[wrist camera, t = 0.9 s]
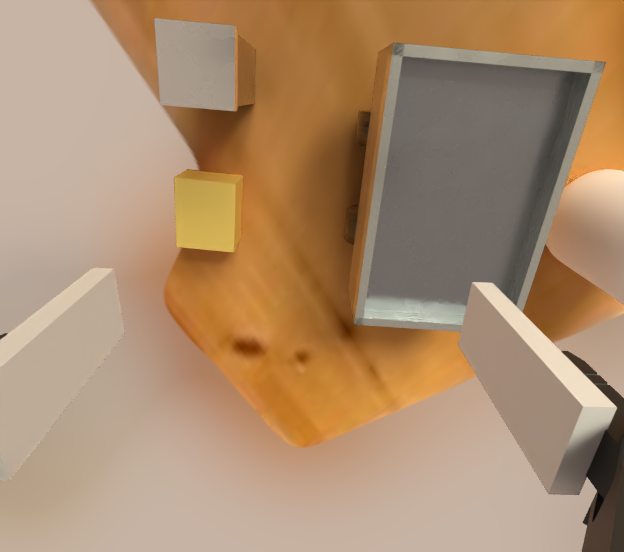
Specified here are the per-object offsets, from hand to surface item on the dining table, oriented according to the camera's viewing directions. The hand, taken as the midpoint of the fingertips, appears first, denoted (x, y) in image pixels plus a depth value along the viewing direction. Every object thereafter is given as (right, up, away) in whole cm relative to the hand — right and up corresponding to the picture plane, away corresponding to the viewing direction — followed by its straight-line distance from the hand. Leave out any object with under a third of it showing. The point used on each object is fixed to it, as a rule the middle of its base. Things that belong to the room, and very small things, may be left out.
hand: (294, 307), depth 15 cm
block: (-8, +8, +23) cm, 25 cm away
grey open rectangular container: (+10, +10, +21) cm, 26 cm away
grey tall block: (-6, +18, +18) cm, 26 cm away
